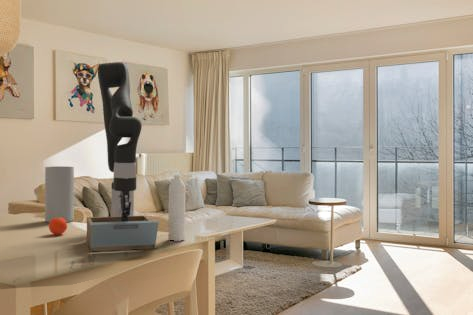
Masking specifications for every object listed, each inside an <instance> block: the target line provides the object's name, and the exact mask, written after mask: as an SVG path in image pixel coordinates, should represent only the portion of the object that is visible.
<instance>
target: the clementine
mask: <svg viewBox="0 0 473 315" xmlns="http://www.w3.org/2000/svg"><path fill="white" fill-rule="evenodd" d="M48 229H49V231H50V233H52V234H53V235H56V236H60V235H63V234H64V233H65V232H66V231H67V229H68V222H66V221H65V220H64V219H63V218H60V217H56V218H53V219H52V220H51V221H50V223H49V222H48Z"/></svg>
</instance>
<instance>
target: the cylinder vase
mask: <svg viewBox="0 0 473 315" xmlns="http://www.w3.org/2000/svg"><path fill="white" fill-rule="evenodd" d="M74 175H75V168H74V166H62V165H61V166H45V170H44V177H45V179H44V186H45V187H44V190H45V191H44V192H45V193H44V197H45V198H44V202H45V205H44V206H45V207H44V210H45V211H44V216H45V217H44V221H45V222H46V223H48V224H49V223H50V221H51V220H52V219H53V218H56V217H60V218H63V219H64V220H65V221H66V223H70V222H74V219H75V218H74V216H75V214H74V212H75V211H74V209H75V206H74V201H75V199H74V198H75V194H74V193H75V190H74V189H75V186H74V184H75V182H74V181H75V178H74V177H75V176H74Z"/></svg>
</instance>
